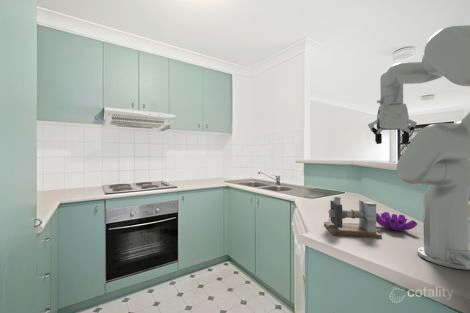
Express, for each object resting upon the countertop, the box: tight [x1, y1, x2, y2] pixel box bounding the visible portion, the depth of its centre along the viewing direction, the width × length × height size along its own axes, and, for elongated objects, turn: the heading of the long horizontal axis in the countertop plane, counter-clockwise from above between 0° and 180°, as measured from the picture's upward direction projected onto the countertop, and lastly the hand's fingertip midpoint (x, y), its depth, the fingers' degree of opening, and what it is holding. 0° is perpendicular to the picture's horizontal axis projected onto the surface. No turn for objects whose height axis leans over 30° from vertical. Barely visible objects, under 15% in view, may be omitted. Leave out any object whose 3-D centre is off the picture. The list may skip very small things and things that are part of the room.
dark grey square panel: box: [330, 200, 343, 228], centre depth 88 cm, size 9×2×9 cm, turn 171°
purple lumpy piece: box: [376, 211, 418, 231], centre depth 90 cm, size 11×15×10 cm
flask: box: [333, 196, 344, 219], centre depth 109 cm, size 7×7×10 cm
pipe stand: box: [323, 199, 383, 239], centre depth 87 cm, size 14×17×12 cm
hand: (391, 143), depth 87 cm, fingers open, 9 cm apart
